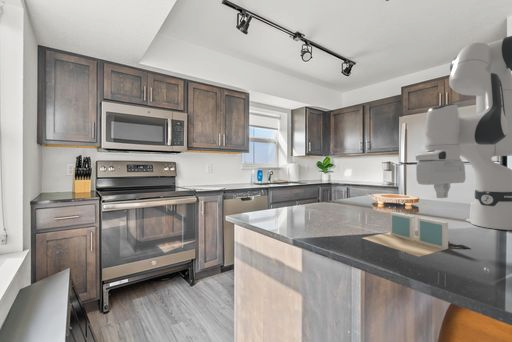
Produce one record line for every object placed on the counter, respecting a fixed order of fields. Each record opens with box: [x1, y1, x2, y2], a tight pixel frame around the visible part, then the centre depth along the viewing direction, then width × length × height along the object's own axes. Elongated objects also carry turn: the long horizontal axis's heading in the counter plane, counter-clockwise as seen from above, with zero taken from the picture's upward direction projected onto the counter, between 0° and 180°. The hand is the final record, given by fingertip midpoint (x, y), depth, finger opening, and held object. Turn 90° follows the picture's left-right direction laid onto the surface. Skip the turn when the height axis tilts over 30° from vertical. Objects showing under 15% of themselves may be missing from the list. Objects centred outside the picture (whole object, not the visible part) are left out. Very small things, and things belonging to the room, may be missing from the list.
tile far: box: [389, 211, 416, 240], centre depth 87 cm, size 2×8×8 cm, turn 24°
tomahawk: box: [448, 240, 472, 250], centre depth 84 cm, size 21×7×1 cm, turn 166°
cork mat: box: [362, 231, 454, 258], centre depth 82 cm, size 18×20×1 cm
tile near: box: [417, 216, 449, 250], centre depth 78 cm, size 2×8×8 cm, turn 24°
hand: (442, 197), depth 79 cm, fingers closed
